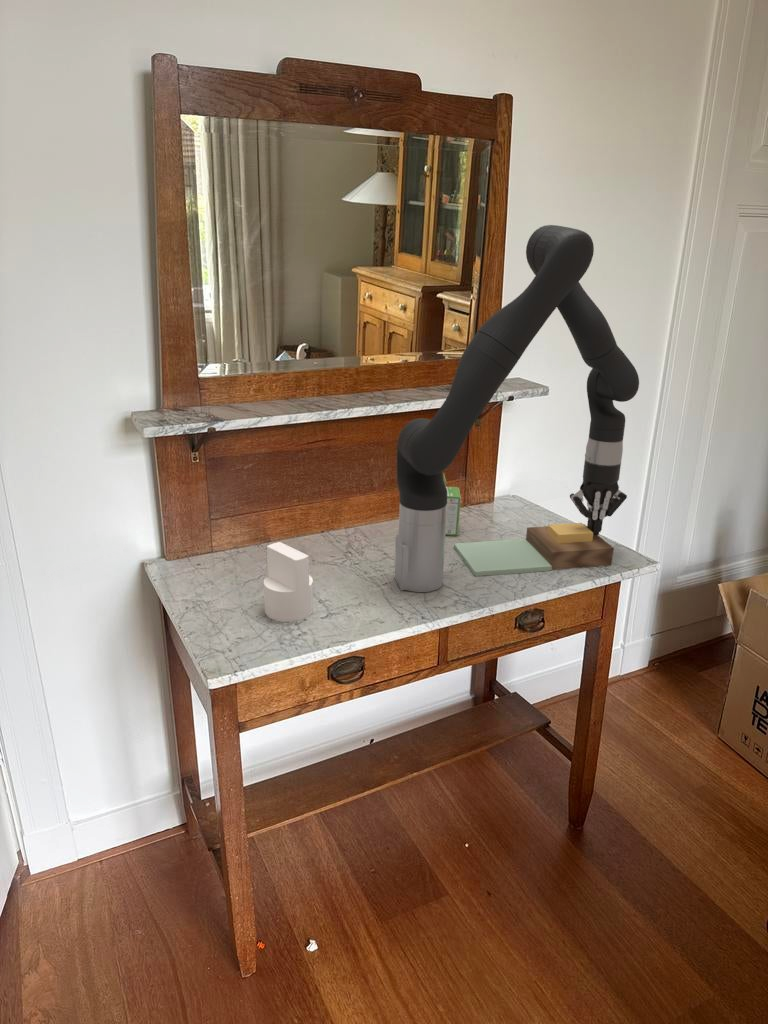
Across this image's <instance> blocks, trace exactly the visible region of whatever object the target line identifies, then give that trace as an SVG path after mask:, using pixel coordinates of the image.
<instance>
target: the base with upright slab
mask: <svg viewBox="0 0 768 1024" xmlns="http://www.w3.org/2000/svg"><path fill="white" fill-rule="evenodd" d="M266 555H267V557H266V559H267V576H266V577H265V578H264V580H263V595H264V597H263V599H264V600H263V601H264V613H265V615H266V616H267V617H268V618H269V619H272V620H274V621H277V622H286V623H287V622H297V621H300V620H305V619H306V618H308V617H309V616H311V615H312V614H313V611H314V581H313V580H314V579H313V577H312V575H310V555H308V554H305V553H304V552H302V551H299V550H298V549H296V548H293V547H291V546H289V545H288V544H285V543H283V542H281V541H278V542H274V543H271V544H268V545H267V546H266Z"/></svg>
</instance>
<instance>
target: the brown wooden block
mask: <svg viewBox="0 0 768 1024" xmlns="http://www.w3.org/2000/svg"><path fill="white" fill-rule="evenodd" d="M583 524H584V525H585V526H586V527H587V524H585V523H583ZM547 529H548V525H547V526H545V525H544V526H532V527H529V526H528V527H527V528H526V535H525V537H526V538H525V539H526V540H527V541H528V542H529V543H530V544H531V545H532V546H533V547H534V548H535V549H536V550H537V551H538V552H539V553H540V554H541V556H542V557H543V558H544V559H545V560H546V561H547V562H548V563H549V564H550V565H551V566H552V570H563V569H575V568H576V569H577V568H589V567H602V566H611V565H612V562H613V555H614V547H613V546H612V545H610V543H608V542H607V541H606V540H604V539H603V538H602V537H601V536H600V535H593V540H592V542H575V543H557V542H556V541H555V540H554V539H553V538H552V537H551V536H550V535H549V534H548V533H547Z"/></svg>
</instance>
